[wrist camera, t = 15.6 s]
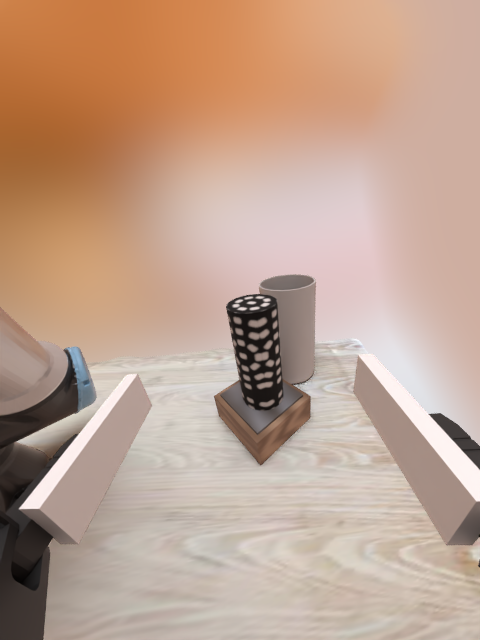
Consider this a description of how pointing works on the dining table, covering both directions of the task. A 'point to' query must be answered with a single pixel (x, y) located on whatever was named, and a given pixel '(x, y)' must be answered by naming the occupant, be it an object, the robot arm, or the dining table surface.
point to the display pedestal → (263, 419)
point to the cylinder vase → (294, 323)
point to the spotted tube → (257, 349)
